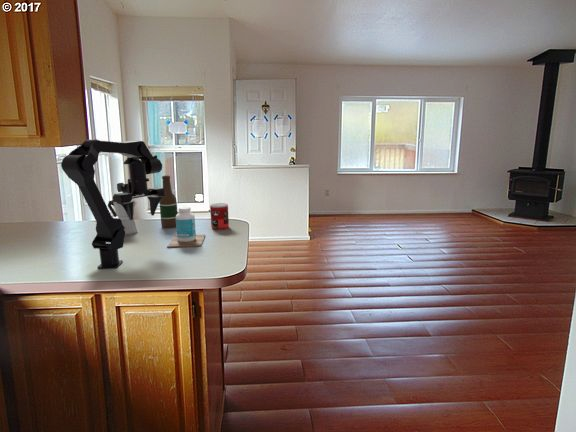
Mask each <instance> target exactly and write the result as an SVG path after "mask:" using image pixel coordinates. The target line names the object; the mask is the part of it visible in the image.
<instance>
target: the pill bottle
mask: <svg viewBox="0 0 576 432" xmlns="http://www.w3.org/2000/svg"><path fill="white" fill-rule="evenodd" d="M191 210H192V209H191V207H190V206H182V207H178V214H177V215H176V227H175V228H176V236H177V240H178V241H179V242H191V241H194V240H195V239H196V235H197V234H196V231H197V230H196V220H195V219H196V218H195V214H194V213H193V212H191Z"/></svg>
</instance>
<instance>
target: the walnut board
mask: <svg viewBox="0 0 576 432" xmlns="http://www.w3.org/2000/svg"><path fill="white" fill-rule="evenodd" d="M205 237H206V234H196V239H195V240H194V241H191V242H179V241H178V240H177V235H173V237H172V238H171V240H170V241H169V243H168V244H167V246H166V248H167V249H169V248H170V249H174V248H175V249H177V248H194V247H195V248H196V247H198V248H199V246H201V245H203V243H204V240H205ZM201 247H202V246H201Z"/></svg>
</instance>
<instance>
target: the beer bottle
mask: <svg viewBox="0 0 576 432" xmlns="http://www.w3.org/2000/svg"><path fill="white" fill-rule="evenodd" d="M161 179H162V188H163V189H164V190H165V196H161V197H163V198H161V200H160V202H159V210H160V223H161V227H162V228H164V229H172V228H176V215H177V214H178V213H179V211H178V203H177V198H176V196H175V194H174V193H173V191H172V185H171V184H172V183H171V176H170V175H162V176H161Z"/></svg>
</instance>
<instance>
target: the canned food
mask: <svg viewBox="0 0 576 432" xmlns="http://www.w3.org/2000/svg"><path fill="white" fill-rule="evenodd" d="M209 209H210V224H211V225H210V226H211V229H212V230H214V229H219V230H220V229H223V230H226V229H228V228H229V226H230V225H229V224H230V221H229V204H228V203H225V202H220V203H219V202H218V203H211V204H210V205H209ZM219 230H218V231H219ZM220 231H221V230H220Z"/></svg>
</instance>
